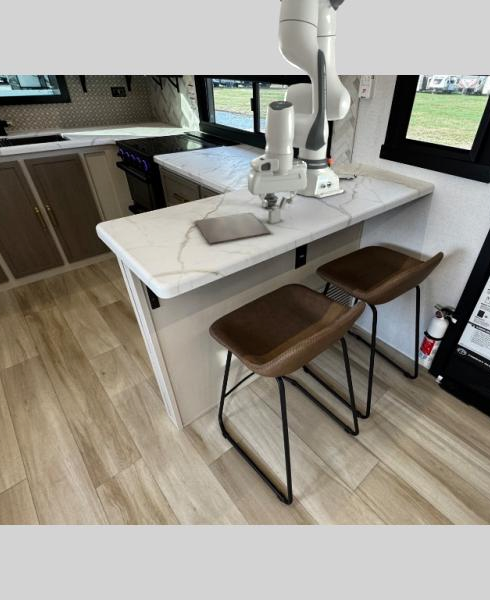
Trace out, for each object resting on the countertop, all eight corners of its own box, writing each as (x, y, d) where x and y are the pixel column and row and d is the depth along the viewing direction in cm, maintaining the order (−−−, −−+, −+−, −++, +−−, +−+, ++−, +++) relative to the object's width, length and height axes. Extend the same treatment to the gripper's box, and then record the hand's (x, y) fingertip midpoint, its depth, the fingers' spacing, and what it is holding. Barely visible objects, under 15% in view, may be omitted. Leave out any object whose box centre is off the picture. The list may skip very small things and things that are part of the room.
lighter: (270, 223, 109) (271, 200, 105) (268, 221, 111) (268, 199, 106) (287, 219, 113) (288, 197, 108) (284, 217, 114) (285, 195, 109)
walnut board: (250, 214, 115) (250, 212, 115) (270, 234, 103) (270, 232, 102) (195, 222, 108) (195, 220, 107) (210, 244, 95) (210, 243, 95)
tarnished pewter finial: (270, 203, 125) (271, 171, 118) (281, 207, 122) (282, 175, 115) (259, 206, 122) (259, 174, 115) (269, 210, 119) (269, 178, 112)
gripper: (302, 157, 106) (299, 198, 114) (245, 161, 98) (246, 205, 106) (312, 162, 102) (308, 204, 110) (253, 166, 94) (253, 211, 102)
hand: (277, 204), depth 108 cm, fingers open, 8 cm apart
